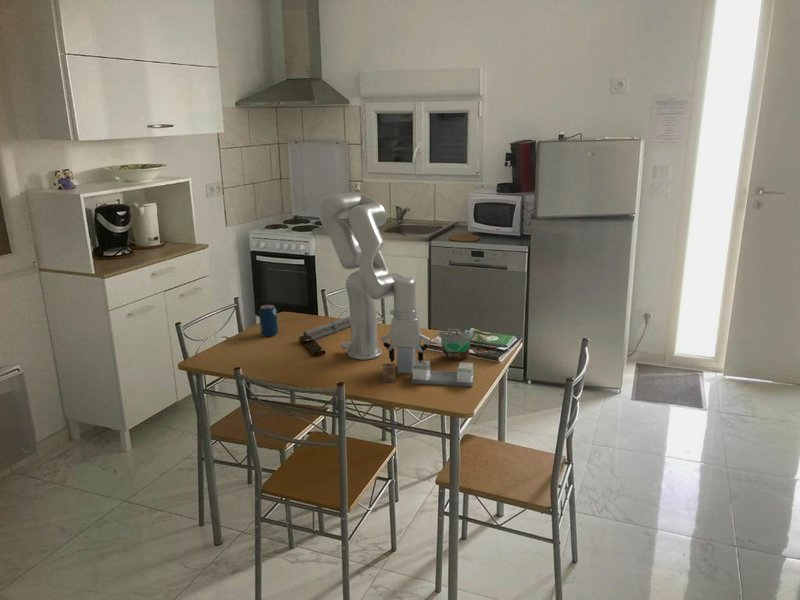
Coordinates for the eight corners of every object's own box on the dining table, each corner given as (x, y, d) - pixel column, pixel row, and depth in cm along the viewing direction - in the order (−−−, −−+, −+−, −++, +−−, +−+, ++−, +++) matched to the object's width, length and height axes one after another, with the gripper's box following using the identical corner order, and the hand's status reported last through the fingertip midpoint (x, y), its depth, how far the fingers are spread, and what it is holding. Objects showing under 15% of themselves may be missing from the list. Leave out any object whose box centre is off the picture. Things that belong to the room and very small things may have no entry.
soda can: (282, 333, 267) (279, 305, 264) (270, 338, 261) (267, 309, 258) (269, 330, 271) (267, 303, 267) (257, 335, 265) (254, 307, 262)
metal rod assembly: (308, 344, 255) (307, 332, 253) (303, 342, 256) (302, 330, 255) (353, 327, 274) (353, 315, 272) (349, 325, 275) (348, 314, 274)
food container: (439, 362, 233) (439, 335, 230) (438, 355, 239) (438, 329, 236) (474, 361, 232) (474, 335, 230) (472, 355, 238) (473, 329, 236)
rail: (411, 383, 215) (411, 368, 214) (415, 373, 223) (415, 359, 221) (472, 386, 211) (472, 371, 210) (474, 377, 219) (474, 362, 218)
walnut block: (383, 382, 217) (382, 368, 215) (382, 377, 221) (382, 363, 219) (395, 381, 217) (394, 367, 216) (394, 377, 221) (394, 363, 220)
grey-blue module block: (397, 372, 225) (396, 347, 222) (401, 364, 231) (400, 340, 229) (411, 373, 224) (411, 348, 221) (415, 365, 230) (414, 341, 228)
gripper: (377, 316, 220) (379, 364, 225) (428, 318, 217) (429, 366, 221) (382, 310, 227) (384, 356, 232) (432, 311, 224) (432, 358, 229)
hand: (406, 361), depth 227 cm, fingers open, 9 cm apart
